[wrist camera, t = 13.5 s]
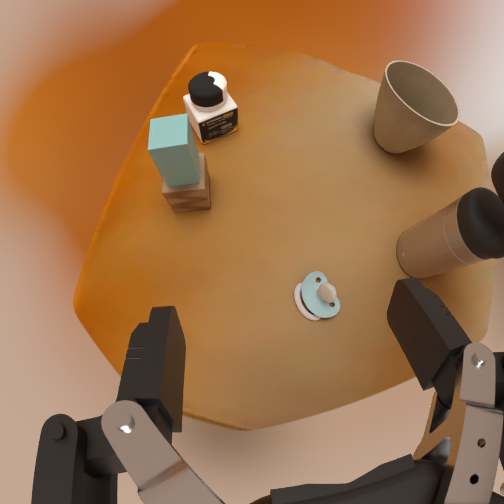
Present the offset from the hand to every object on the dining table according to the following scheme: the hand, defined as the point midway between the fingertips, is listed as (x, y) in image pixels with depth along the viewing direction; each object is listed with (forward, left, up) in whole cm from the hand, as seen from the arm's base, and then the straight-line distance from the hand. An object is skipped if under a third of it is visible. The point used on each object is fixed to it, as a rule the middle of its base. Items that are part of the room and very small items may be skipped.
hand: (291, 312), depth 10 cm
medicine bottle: (+4, -35, -35) cm, 49 cm away
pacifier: (-9, -2, -35) cm, 36 cm away
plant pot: (-31, -31, -35) cm, 56 cm away
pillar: (+8, -21, -27) cm, 35 cm away
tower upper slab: (+8, -21, -31) cm, 38 cm away
